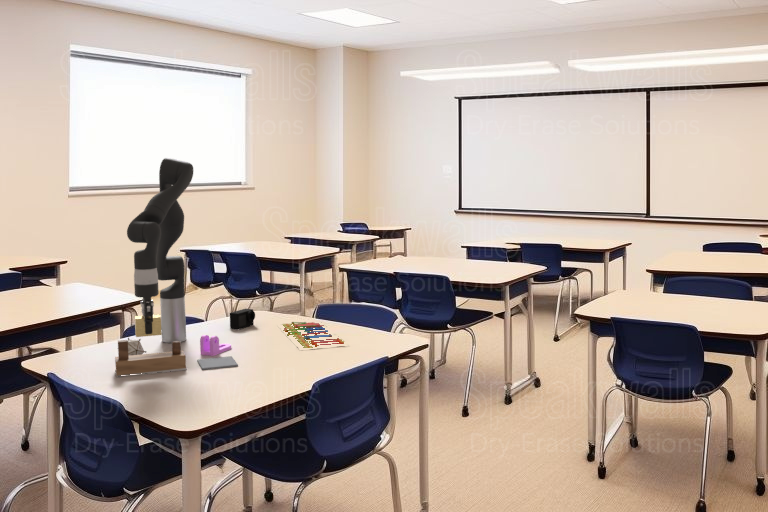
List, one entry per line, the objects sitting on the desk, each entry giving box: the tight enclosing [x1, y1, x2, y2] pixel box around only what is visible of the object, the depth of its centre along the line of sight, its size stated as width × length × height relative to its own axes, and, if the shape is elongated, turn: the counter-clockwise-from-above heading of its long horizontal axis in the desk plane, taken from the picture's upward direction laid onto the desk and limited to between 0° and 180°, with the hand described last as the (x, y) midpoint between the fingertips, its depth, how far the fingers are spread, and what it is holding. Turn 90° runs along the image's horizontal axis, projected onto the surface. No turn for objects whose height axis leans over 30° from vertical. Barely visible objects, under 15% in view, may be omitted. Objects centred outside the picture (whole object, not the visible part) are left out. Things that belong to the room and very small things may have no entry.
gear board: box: [281, 321, 345, 348], centre depth 297 cm, size 45×2×19 cm
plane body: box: [114, 339, 188, 377], centre depth 247 cm, size 7×22×11 cm, turn 112°
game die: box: [127, 337, 147, 356], centre depth 259 cm, size 9×8×10 cm
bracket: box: [199, 334, 232, 357], centre depth 273 cm, size 13×6×7 cm, turn 156°
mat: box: [196, 355, 239, 371], centre depth 256 cm, size 12×12×1 cm
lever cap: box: [134, 314, 162, 338], centre depth 246 cm, size 4×8×7 cm, turn 112°
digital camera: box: [229, 308, 256, 331], centre depth 313 cm, size 10×5×7 cm, turn 151°
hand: (148, 331), depth 246 cm, fingers closed on lever cap, 4 cm apart
